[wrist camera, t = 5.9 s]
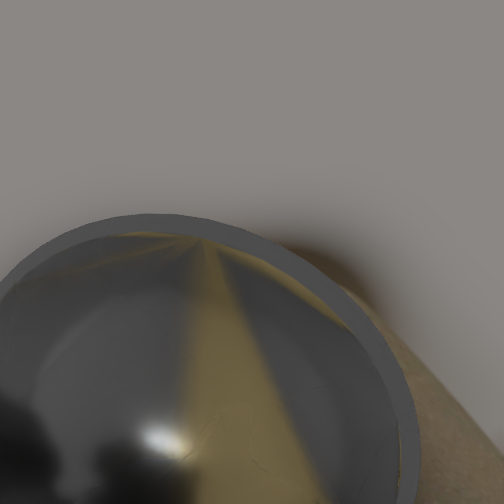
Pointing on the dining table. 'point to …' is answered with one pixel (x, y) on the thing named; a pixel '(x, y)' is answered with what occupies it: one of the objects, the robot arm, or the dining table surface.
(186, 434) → the metal capped yellow cylinder
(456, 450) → the dining table surface
